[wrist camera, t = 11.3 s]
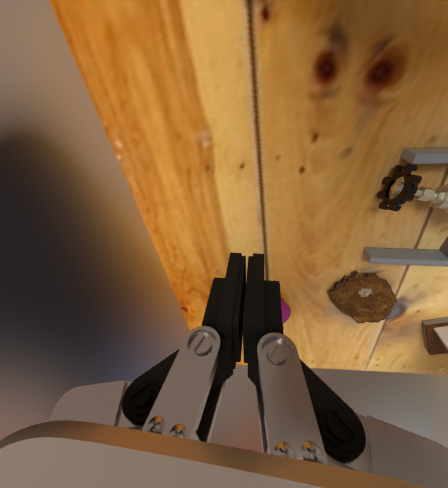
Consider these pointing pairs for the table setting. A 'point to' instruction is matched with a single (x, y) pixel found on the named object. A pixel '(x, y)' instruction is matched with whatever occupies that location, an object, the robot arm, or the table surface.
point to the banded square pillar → (436, 335)
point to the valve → (410, 190)
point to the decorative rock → (364, 297)
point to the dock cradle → (414, 256)
